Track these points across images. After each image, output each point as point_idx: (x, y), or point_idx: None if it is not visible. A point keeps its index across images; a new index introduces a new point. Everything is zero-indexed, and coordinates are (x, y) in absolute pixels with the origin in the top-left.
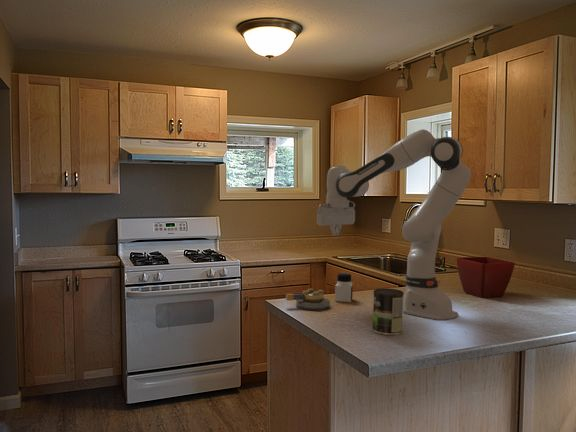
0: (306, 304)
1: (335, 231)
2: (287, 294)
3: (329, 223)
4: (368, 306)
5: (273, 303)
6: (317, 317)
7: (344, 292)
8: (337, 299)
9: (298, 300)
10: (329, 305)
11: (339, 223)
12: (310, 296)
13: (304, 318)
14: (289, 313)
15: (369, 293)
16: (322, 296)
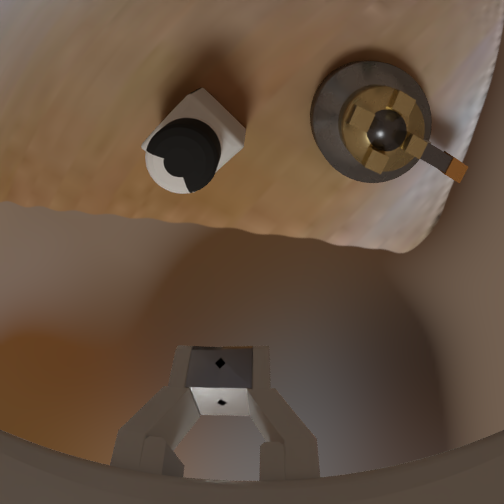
0: (426, 102)
1: (250, 387)
2: (462, 173)
3: (455, 474)
4: (187, 9)
5: (428, 220)
6: (447, 19)
7: (216, 110)
8: (240, 124)
9: None
10: (336, 70)
11: (178, 496)
12: (419, 109)
13: (478, 41)
14: (475, 106)
15: (59, 174)
16: (374, 87)
